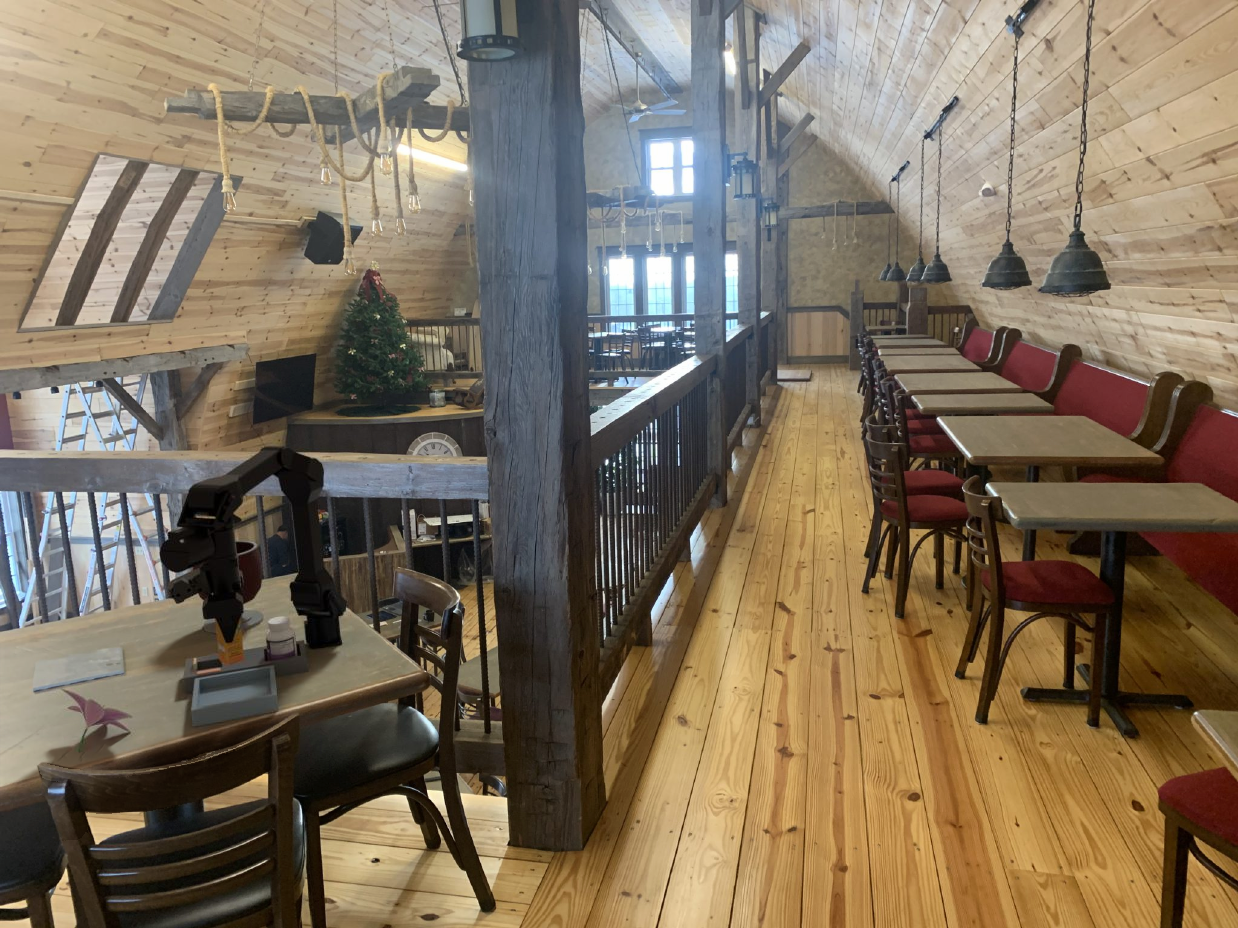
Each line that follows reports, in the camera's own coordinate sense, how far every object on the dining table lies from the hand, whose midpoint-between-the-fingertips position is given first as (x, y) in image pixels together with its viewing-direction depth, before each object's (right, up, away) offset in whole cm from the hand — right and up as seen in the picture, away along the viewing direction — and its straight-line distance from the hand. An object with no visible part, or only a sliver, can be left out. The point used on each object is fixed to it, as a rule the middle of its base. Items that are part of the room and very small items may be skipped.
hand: (229, 638), depth 157 cm
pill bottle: (+3, -9, +17) cm, 20 cm away
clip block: (-3, -10, +14) cm, 18 cm away
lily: (-17, -15, -10) cm, 25 cm away
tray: (0, -12, +2) cm, 12 cm away
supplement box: (0, -4, +1) cm, 5 cm away
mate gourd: (-17, -5, +41) cm, 45 cm away
